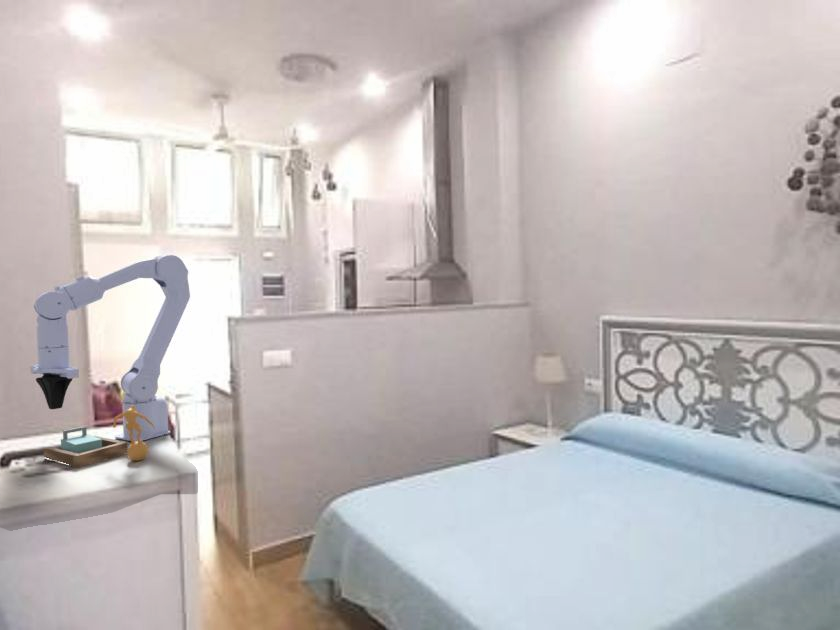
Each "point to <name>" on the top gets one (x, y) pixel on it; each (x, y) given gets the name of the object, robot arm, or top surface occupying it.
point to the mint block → (80, 441)
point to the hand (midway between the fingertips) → (55, 408)
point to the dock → (88, 453)
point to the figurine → (137, 448)
